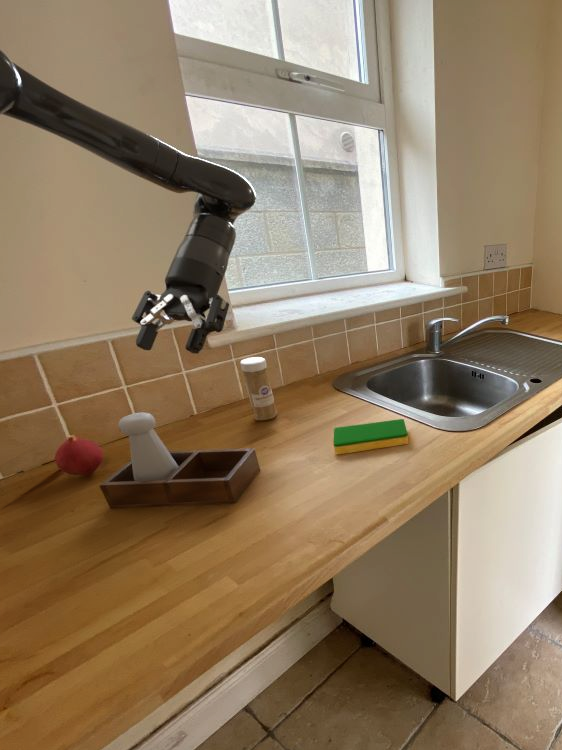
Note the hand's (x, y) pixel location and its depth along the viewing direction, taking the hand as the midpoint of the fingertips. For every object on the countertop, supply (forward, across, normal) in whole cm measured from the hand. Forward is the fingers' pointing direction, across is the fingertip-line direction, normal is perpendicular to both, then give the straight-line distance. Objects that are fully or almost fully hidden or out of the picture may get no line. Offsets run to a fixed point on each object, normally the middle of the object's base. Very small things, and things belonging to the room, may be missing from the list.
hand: (167, 350), depth 75 cm
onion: (+21, -15, +10) cm, 27 cm away
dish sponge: (+8, +28, +22) cm, 37 cm away
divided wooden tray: (+21, +5, +9) cm, 24 cm away
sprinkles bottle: (+3, +2, +27) cm, 28 cm away
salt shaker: (+21, 0, +8) cm, 23 cm away
